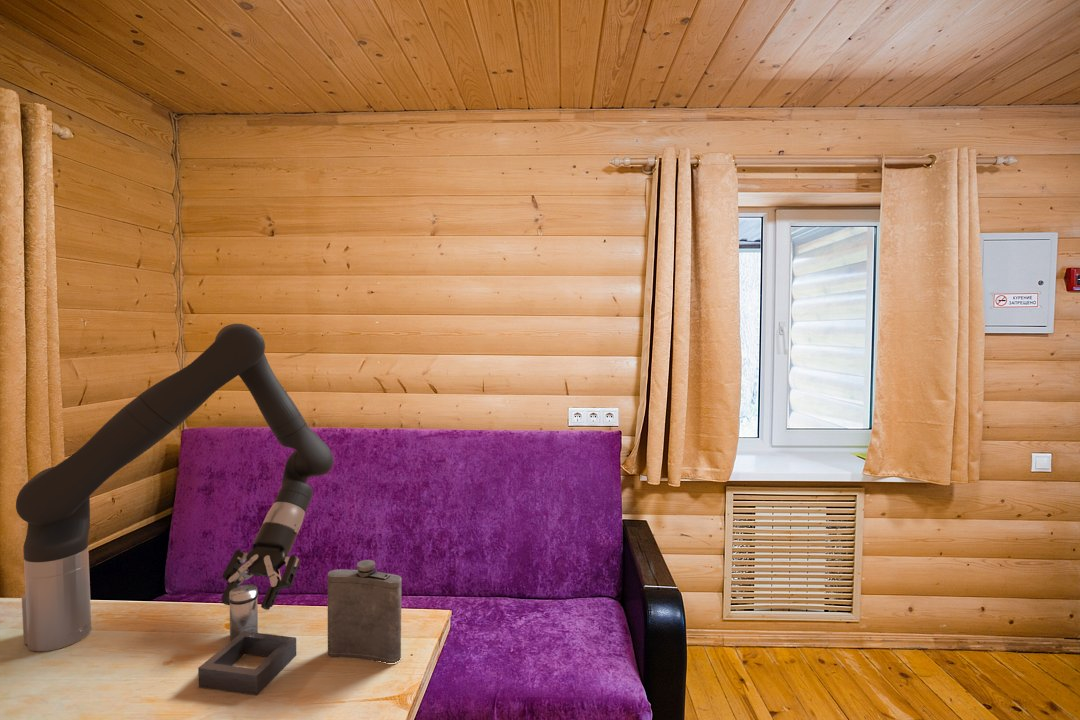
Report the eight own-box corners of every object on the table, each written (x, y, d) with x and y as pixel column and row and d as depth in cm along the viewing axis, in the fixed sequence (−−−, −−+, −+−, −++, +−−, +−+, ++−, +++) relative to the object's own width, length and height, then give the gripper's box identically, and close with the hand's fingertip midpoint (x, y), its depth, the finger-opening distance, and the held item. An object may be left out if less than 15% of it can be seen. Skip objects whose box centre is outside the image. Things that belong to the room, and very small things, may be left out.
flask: (334, 645, 104) (334, 555, 103) (404, 653, 102) (405, 562, 101) (324, 656, 100) (324, 564, 99) (397, 665, 98) (397, 571, 97)
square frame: (198, 687, 91) (198, 667, 91) (243, 648, 102) (243, 631, 102) (257, 695, 90) (257, 675, 90) (296, 655, 101) (296, 637, 100)
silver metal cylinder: (223, 642, 104) (222, 595, 103) (241, 628, 109) (240, 583, 108) (246, 645, 103) (246, 598, 102) (264, 630, 108) (263, 585, 107)
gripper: (242, 518, 115) (202, 596, 104) (303, 523, 113) (269, 604, 102) (258, 532, 120) (222, 608, 110) (317, 537, 118) (286, 615, 108)
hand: (245, 606), depth 106 cm, fingers open, 8 cm apart
